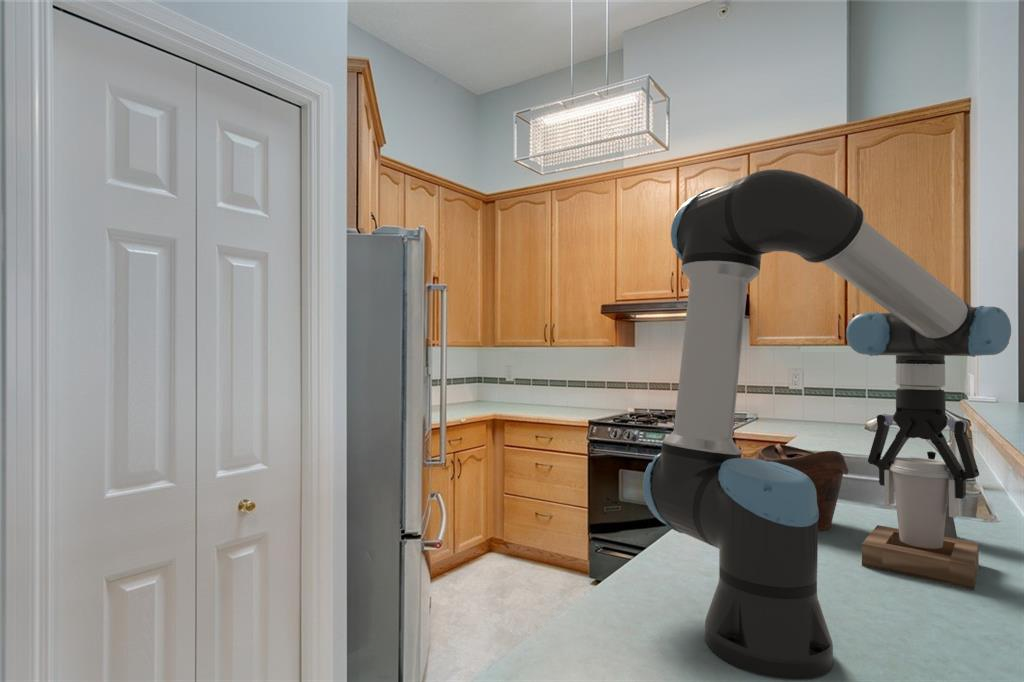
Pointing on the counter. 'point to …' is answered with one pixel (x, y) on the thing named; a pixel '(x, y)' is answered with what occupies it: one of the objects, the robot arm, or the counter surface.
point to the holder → (922, 558)
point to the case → (813, 474)
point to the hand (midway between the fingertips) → (920, 509)
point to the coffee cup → (921, 500)
